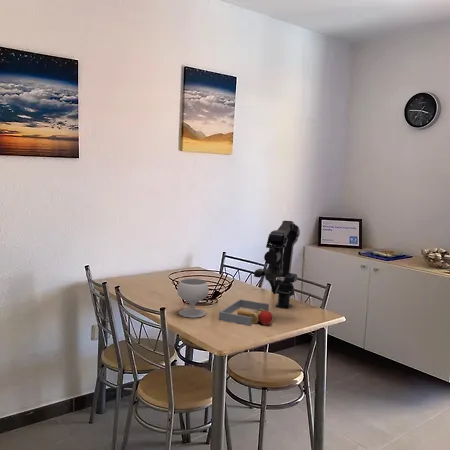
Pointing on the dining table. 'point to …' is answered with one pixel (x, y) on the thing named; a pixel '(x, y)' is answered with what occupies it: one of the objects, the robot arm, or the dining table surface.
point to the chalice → (192, 295)
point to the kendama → (258, 316)
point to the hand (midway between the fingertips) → (274, 294)
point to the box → (227, 316)
